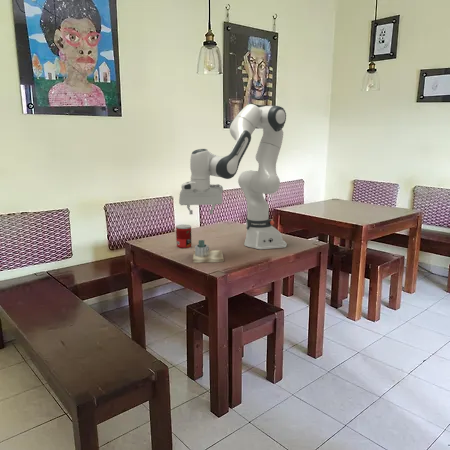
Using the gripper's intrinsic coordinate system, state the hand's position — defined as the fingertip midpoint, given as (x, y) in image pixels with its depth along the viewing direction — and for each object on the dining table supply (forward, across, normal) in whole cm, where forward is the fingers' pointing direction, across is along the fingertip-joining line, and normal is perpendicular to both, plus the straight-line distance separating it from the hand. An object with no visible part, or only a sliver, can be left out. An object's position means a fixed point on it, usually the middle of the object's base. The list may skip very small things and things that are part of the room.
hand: (201, 213), depth 196 cm
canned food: (+22, +9, -20) cm, 31 cm away
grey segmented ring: (+20, 0, +1) cm, 20 cm away
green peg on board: (+21, -3, +1) cm, 22 cm away
